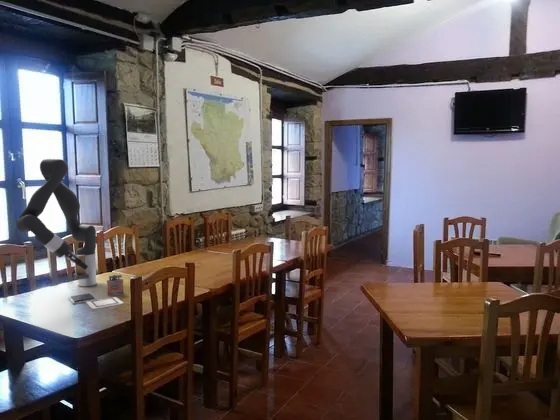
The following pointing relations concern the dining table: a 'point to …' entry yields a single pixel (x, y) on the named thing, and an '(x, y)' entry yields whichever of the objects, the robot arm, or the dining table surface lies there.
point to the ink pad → (82, 298)
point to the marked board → (104, 303)
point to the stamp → (81, 270)
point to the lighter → (115, 285)
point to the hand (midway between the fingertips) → (85, 267)
